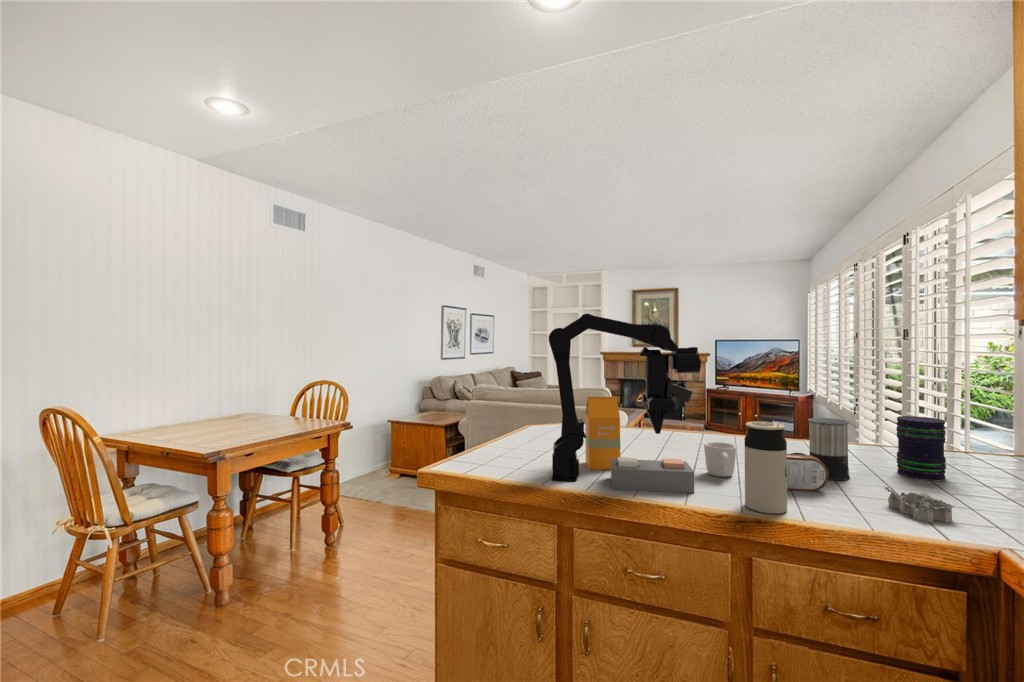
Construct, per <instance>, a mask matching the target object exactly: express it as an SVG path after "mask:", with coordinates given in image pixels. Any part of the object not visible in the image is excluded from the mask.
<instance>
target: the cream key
mask: <svg viewBox="0 0 1024 682" xmlns="http://www.w3.org/2000/svg"><path fill="white" fill-rule="evenodd" d="M637 460H638V458H637V457H631V456H630V457H629V456H628V457H627V456H620V457H618V466H619V467H638V462H637Z"/></svg>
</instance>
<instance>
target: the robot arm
mask: <svg viewBox="0 0 1024 682" xmlns="http://www.w3.org/2000/svg"><path fill="white" fill-rule="evenodd" d="M586 330H591V331H596V332H602V333H607V334H610V335H615V336H621V337H623V338H624V337H625V338H630V339H632V340H634V341H637V342H639V343H642V344H643V345H647V346H649V347H650V348H651V347H652V348H659V349H649V348H648V347H647V346H643V348H642V349H641V350H640V351H639V352H638V353H637V355H638V356H639V357H645V376H644V380H645V391H644V392H643V393H642V394H641V401H642V403H646V402H647V404H644V408H645V410H646V413H647V416H648V418H649V420H650V422H651V425H652V428H653V431H654V432H655V434H656V435H661V432H662V427H663V424H664V418H665V415H666V414H667V413H668V412H670V411H671V412H672V411H673V412H674V411H676V408H677V407H676V404H677V403H676V402H675V400H673V398H675V399H678V400H681V401H683V402H684V403H688V404H690V401H691V398H692V396H693V393H694V391H693V390H691V389H689V388H686V384H685V383H683V382H680V381H678V382H677V383H672V378H671V377H670V370H669V369H671V370H673V372H674V373H675V374H699V373H700V372H701V366H702V360H701V357H700V354H699V349H698V347H697V346H690V347H678V345H677V344H676V342H674V340H673V339H672V338H671V332H670V330H669V328H668V327H666V326H665V325H662V324H643V323H642V324H640V323H639V324H635V323H631V322H625V321H621V320H617V319H610V318H606V317H601V316H596V315H593V314H591V313H584V314H582V315H581V316H580V317H579V318H577V319H576V320H574V321H573V322H571V323H570V324H568V325H566V326H565V327H556V328H554V329H553V330H551V332H550V333H549V335H548V342H549V346H550V350H551V352H552V355H553V359H554V362H555V364H556V365H555V366H556V373H557V374H556V375H557V382H558V388H559V389H558V391H559V399H560V405H561V407H560V408H561V415H562V416H561V428H560V429H561V430H560V431H561V432H560V433H561V434H560V435H561V436H559V437H558V438H557V440H555V441H554V443H553V452H552V456H551V457H552V460H551V461H552V465H551V466H552V475H551V481H562V482H563V481H567V482H577V481H578V478H579V476H580V459H579V458H578V457H577V456H578V454H577V451H578V450H580V449H581V448H582V447H583V445H584V443H585V442H584V440H585V438H586V435H585V434H586V431H585V429H584V428H585V421H584V419H583V418H580V419H578V416H577V412H576V406H575V405H576V404H575V395H574V389H573V388H574V387H573V381H572V372H571V366H570V361H571V360H570V359H571V358H570V357H571V345H572V344H571V341H572V340H573V339H575V338H576V337H578V336H579V335H581V334H582V333H584V332H585V331H586ZM661 350H662V351H665V352H671V353H662V351H661Z"/></svg>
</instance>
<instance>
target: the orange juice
mask: <svg viewBox="0 0 1024 682" xmlns="http://www.w3.org/2000/svg"><path fill="white" fill-rule="evenodd" d="M584 415H585V421H584V425H585V435H586V438H584V440H585V442H584V443H585V463H586V466H587V468H588V469H589V470H611V459H618V457H621V418H620V410H619V404H618V396H587V397H586V407H585V414H584Z"/></svg>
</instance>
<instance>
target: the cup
mask: <svg viewBox="0 0 1024 682" xmlns="http://www.w3.org/2000/svg"><path fill="white" fill-rule="evenodd" d="M703 449H704V457H705V465H706V467H705V468H706V471H707V473H708V474H709V475H712V476H714V477H720V478H727V477H732V476H733V475H734V472H735V464H736V457H737V446H736V445H735V444H732V443H728V442H720V441H710V442H705V443H704V444H703Z"/></svg>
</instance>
